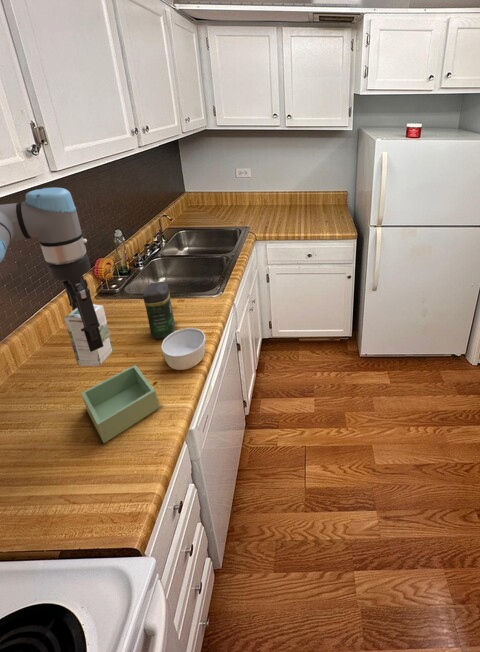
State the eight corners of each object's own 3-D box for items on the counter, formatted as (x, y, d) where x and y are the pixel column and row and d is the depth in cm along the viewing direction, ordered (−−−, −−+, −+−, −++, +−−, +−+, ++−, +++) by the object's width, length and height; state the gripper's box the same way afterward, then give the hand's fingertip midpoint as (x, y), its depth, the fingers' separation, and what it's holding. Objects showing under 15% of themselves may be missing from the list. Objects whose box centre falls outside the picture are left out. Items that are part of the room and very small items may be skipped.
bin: (103, 443, 81) (97, 424, 78) (86, 410, 89) (80, 392, 87) (159, 408, 90) (155, 390, 88) (139, 381, 99) (135, 364, 96)
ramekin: (207, 368, 103) (204, 351, 101) (161, 377, 100) (157, 359, 97) (208, 341, 115) (205, 324, 113) (167, 348, 112) (163, 331, 109)
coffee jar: (174, 337, 117) (166, 292, 110) (150, 342, 114) (139, 296, 108) (176, 321, 125) (169, 278, 118) (153, 325, 123) (144, 281, 116)
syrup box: (93, 350, 87) (79, 303, 82) (115, 351, 87) (102, 304, 81) (77, 366, 82) (61, 317, 76) (100, 367, 81) (86, 318, 76)
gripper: (101, 267, 70) (122, 352, 78) (75, 240, 83) (96, 316, 91) (57, 279, 65) (86, 370, 73) (37, 249, 78) (63, 328, 86)
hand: (91, 340), depth 82 cm, fingers closed on syrup box, 8 cm apart
